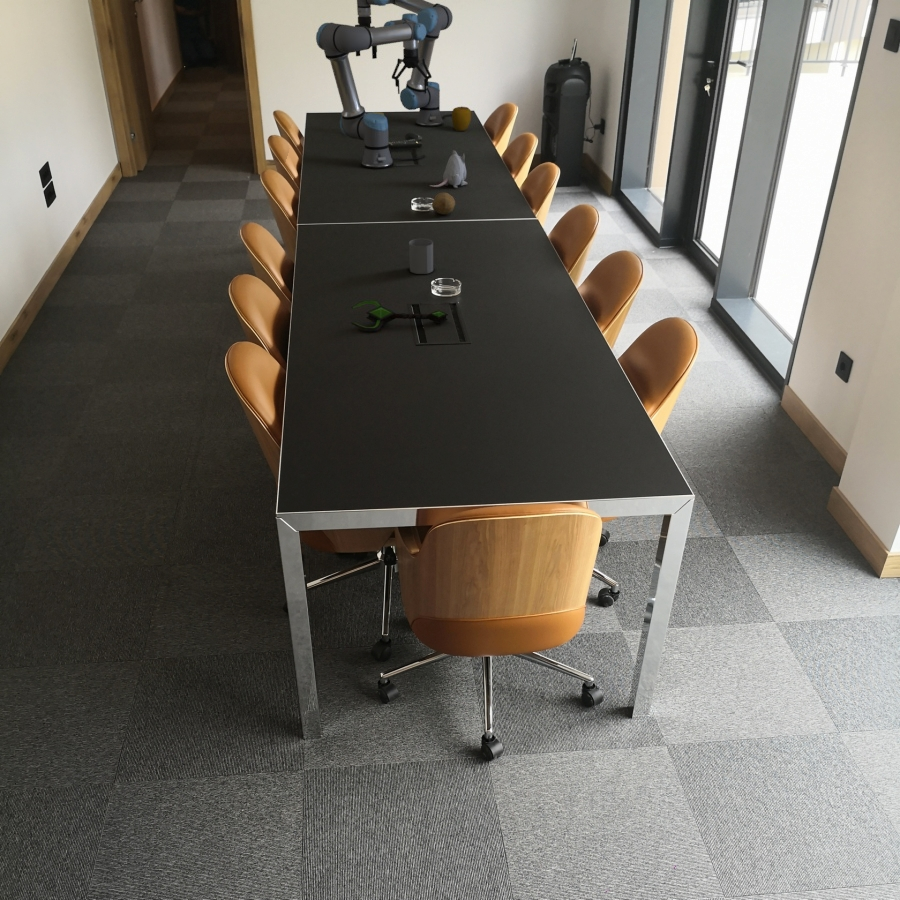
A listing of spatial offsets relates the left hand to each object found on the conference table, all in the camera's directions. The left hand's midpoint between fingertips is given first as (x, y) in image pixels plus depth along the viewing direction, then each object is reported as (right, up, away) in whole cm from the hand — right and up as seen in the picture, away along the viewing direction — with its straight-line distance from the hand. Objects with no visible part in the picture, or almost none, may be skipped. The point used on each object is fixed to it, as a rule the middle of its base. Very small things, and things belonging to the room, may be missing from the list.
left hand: (412, 93), depth 445 cm
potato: (+17, -84, -82) cm, 119 cm away
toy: (+18, -64, -51) cm, 84 cm away
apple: (+26, -2, +46) cm, 53 cm away
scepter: (+4, -144, -175) cm, 227 cm away
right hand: (-28, +41, +51) cm, 71 cm away
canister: (-21, -11, +33) cm, 40 cm away
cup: (+9, -119, -137) cm, 182 cm away
